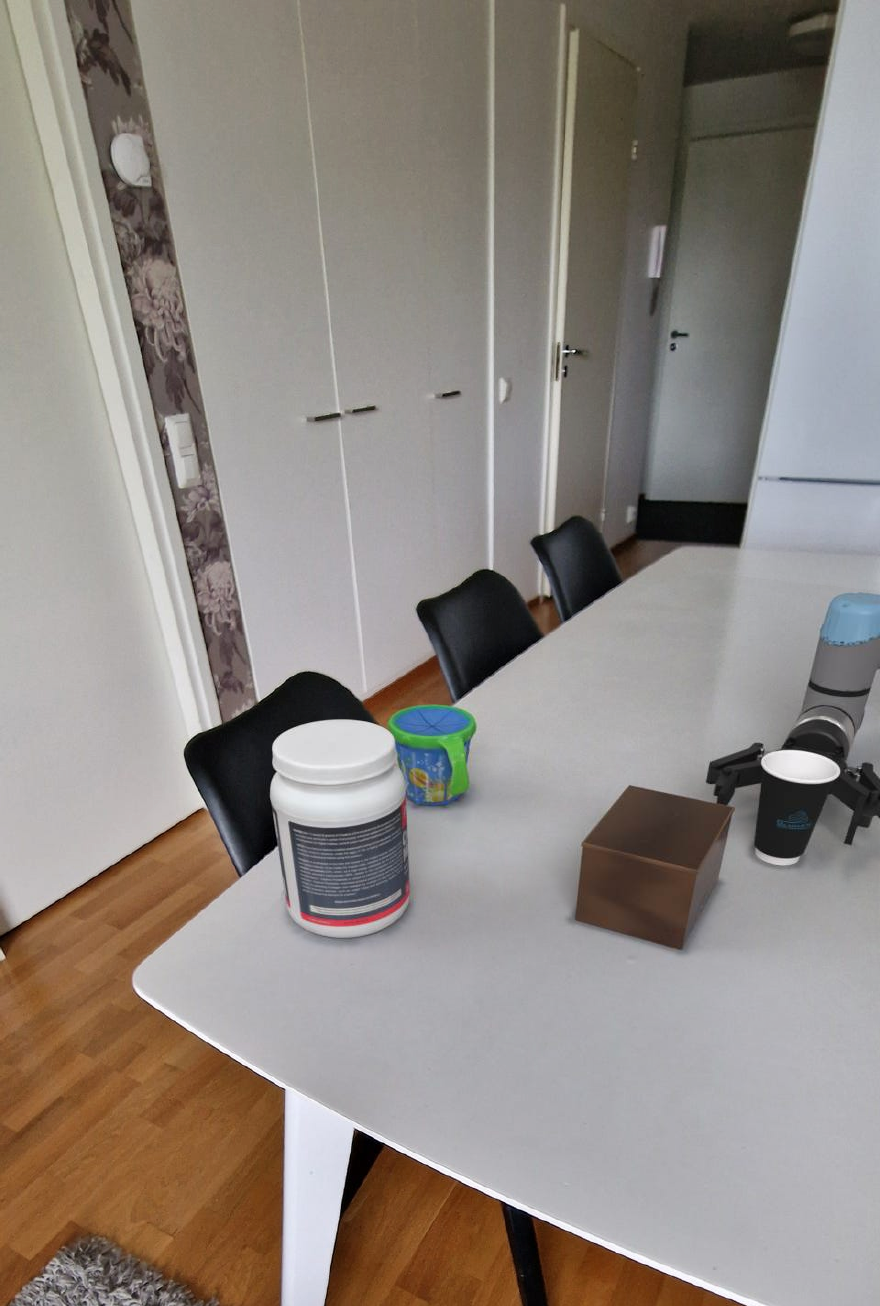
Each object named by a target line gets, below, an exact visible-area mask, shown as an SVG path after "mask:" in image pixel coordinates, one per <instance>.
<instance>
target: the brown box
mask: <svg viewBox="0 0 880 1306" xmlns="http://www.w3.org/2000/svg"><path fill="white" fill-rule="evenodd" d="M735 809H736V806H730V805H722V804H717V803H716V802H713V801H707V800H702V799H699V798H698V799H697V798H692V797H689V796H683V795H680V794H679V795H678V794H675V793H669V792H665V791H659V790H655V789H650V788H647V787H641V786H637V785H631V784H629V785H628V786H627V787H626V788H625V790H624V791H623V792H622V793H621V794H620V796H619V797H618V798H617V799H616V801H615V802H613V804H612V805H611V807H610V808H609V809H608V810H607V811H606V813H605V814H604V815H603V816H602V817H601V818H600V820H599V821H598V822H597V823H596V825H595V826H594V827H593V828H592V829H591V830H590V832H589V833H588V834H587V836H586V837H585V838H584V839H583V840H582V842H581V843H580V846H581V858H580V860H581V861H580V868H579V878H578V888H577V897H576V907H575V915H574V920H575V921H578V922H582V923H584V924H588V925H592V926H595V927H598V928H602V929H604V930H609V931H613V932H617V933H620V934H623V935H628V936H631V937H634V938H638V939H641V940H644V941H648V942H652V943H655V944H658V945H662V946H666V947H670V948H672V949H676V950H680V951H682V950H683V949H684V947H685V944H686V943H687V941H688V940H689V937H690V936H691V934H692V931H693V930H694V927H695V925H696V924H697V922H698V920H699V918H700V916H701V915H702V913H703V911H704V909H705V907H706V905H707V903H708V901H709V899H710V897H711V895H712V894H713V891H714V889H715V887H716V886H717V884H718V882H719V878H720V872H721V867H722V864H723V859H724V854H725V850H726V845H727V842H728V836H729V832H730V828H731V827H730V826H731V822H732V818H733V814H734V812H735Z"/></svg>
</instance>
